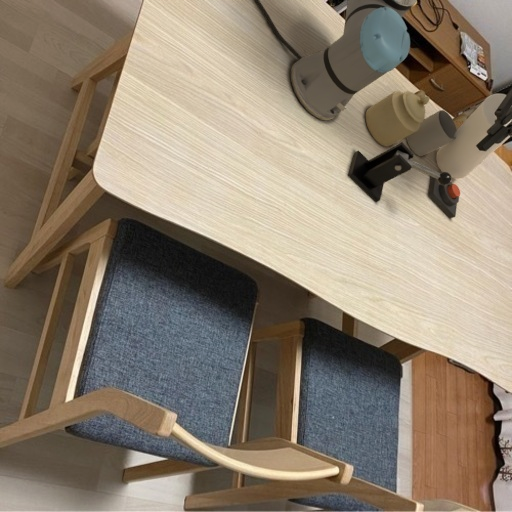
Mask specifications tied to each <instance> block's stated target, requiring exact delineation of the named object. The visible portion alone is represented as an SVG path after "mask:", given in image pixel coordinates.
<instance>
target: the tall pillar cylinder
mask: <svg viewBox="0 0 512 512" xmlns="http://www.w3.org/2000/svg"><path fill="white" fill-rule="evenodd" d="M506 96H507V94H505V93H493V94H490V95H488V96H487V97H486V98H485V99H484V100H483V101H482V102H480V103H481V105H480V106H479V107H478V108H477V109H476V110H475V111H474V112H473V113H472V114H471V115H470V116H469V118H468V119H467V120H466V121H465V122H464V123H463V124H462V125H461V126H460V127H459V128H458V130H457V131H456V133H455V135H454V137H456V139H455V140H453V141H451V142H449V143H447V144H445V145H443V146H441V147H439V148H438V150H437V152H436V156H435V160H436V165H437V166H438V169H439V170H440V171H441V173H442V172H448V173H449V174H450V175H451V177H452V179H457V180H459V179H464V178H465V177H467V176H469V175H470V174H471V173H472V172H473V171H474V170H475V169H476V168H478V167H479V166H480V165H481V164H482V163H483V162H484V161H485V160H486V159H488V158H489V157H490V156H491V155H492V154H493V153H494V152H496V150H497V149H498V148H500V147H501V146H502V145H503V144H505V142H506V141H508V139H510V138H511V137H510V136H507V137H506V138H505V139H504V140H503V141H502V142H501V143H499V144H494V145H492V146H491V147H490V148H489V149H488V150H487V151H479V149H478V148H477V147H476V145H477V144H478V143H479V142H480V141H481V140H482V139H483V138H485V137H486V136H487V135H488V133H487V130H488V129H489V128H490V127H491V126H492V125H493V124H494V123H495V120H496V119H497V117H496V116H495V114H494V113H495V111H496V110H497V108H498V107H499V105H500V104H501V103H502V101H503V100H504V98H505V97H506ZM511 107H512V106H511ZM511 107H510V108H511ZM511 121H512V119H511V120H510V121H509V122H508V123H507V124H505V125H504V126H505V127H506V126H507V125H508V124H509V123H510V122H511Z"/></svg>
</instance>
